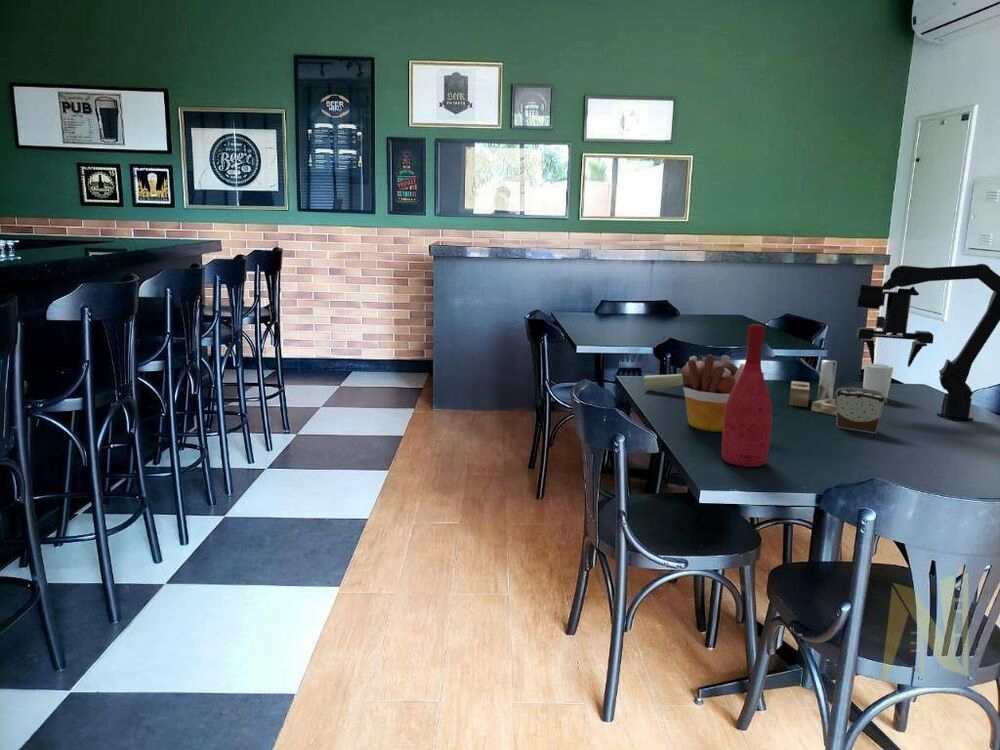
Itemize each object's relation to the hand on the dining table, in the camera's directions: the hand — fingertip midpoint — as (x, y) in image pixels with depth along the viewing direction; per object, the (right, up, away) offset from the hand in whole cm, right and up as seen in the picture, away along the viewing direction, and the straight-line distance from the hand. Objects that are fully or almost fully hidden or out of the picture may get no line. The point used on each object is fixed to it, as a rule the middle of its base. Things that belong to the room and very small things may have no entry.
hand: (890, 365), depth 209 cm
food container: (-18, -17, -19) cm, 31 cm away
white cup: (+5, -10, +18) cm, 21 cm away
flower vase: (-51, -10, +12) cm, 53 cm away
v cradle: (-19, -13, -2) cm, 23 cm away
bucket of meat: (-58, -16, -22) cm, 64 cm away
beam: (-22, -11, +9) cm, 27 cm away
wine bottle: (-59, -22, -50) cm, 80 cm away
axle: (-16, -11, +7) cm, 21 cm away
